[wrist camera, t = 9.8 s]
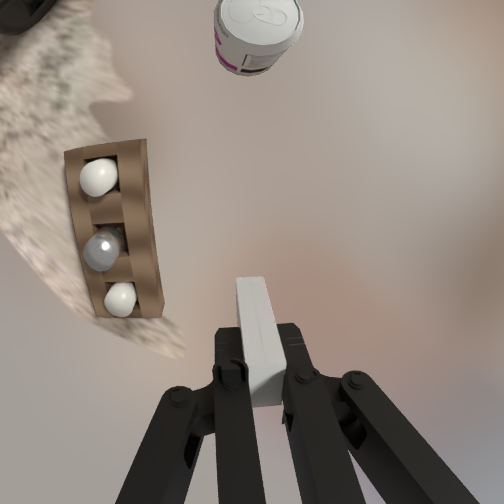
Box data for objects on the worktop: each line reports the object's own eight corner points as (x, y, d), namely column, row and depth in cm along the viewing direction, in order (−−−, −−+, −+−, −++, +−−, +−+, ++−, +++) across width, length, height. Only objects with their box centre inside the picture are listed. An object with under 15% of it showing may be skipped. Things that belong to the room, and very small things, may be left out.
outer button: (110, 276, 42) (101, 291, 38) (136, 275, 42) (129, 291, 38) (116, 300, 44) (108, 316, 40) (141, 300, 44) (135, 317, 40)
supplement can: (207, 67, 33) (199, 36, 19) (228, 16, 30) (232, -33, 16) (265, 85, 35) (291, 64, 21) (285, 34, 32) (318, -6, 18)
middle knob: (93, 227, 36) (80, 239, 32) (121, 225, 36) (111, 238, 32) (98, 256, 38) (87, 271, 34) (126, 255, 38) (117, 270, 34)
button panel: (76, 148, 35) (63, 151, 31) (146, 138, 36) (138, 140, 32) (104, 303, 46) (97, 317, 42) (164, 303, 47) (160, 317, 43)
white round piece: (91, 159, 35) (77, 164, 30) (120, 155, 35) (109, 159, 31) (95, 189, 36) (82, 198, 32) (123, 186, 37) (112, 195, 33)
